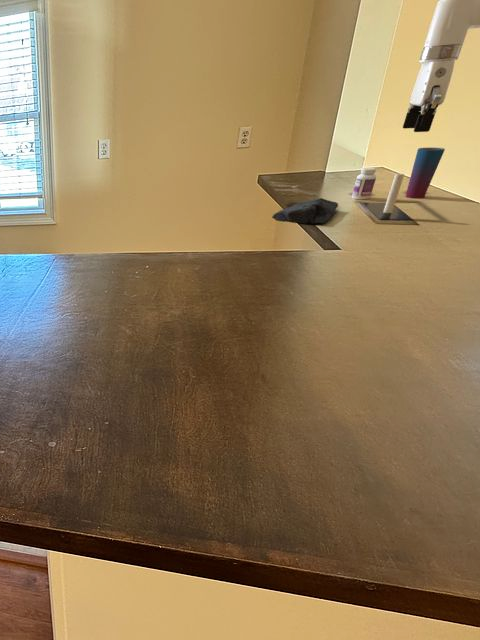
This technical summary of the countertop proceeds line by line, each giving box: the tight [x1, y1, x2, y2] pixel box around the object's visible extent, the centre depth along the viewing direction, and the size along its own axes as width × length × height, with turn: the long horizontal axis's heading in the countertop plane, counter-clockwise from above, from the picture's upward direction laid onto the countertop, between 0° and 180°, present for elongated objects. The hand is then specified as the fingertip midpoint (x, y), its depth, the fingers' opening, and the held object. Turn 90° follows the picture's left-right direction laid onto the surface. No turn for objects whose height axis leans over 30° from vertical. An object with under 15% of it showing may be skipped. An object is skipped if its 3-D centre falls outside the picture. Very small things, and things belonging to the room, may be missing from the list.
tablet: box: [357, 201, 420, 226], centre depth 145 cm, size 16×24×1 cm, turn 158°
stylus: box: [382, 173, 405, 218], centre depth 136 cm, size 2×2×12 cm
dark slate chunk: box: [271, 197, 339, 225], centre depth 149 cm, size 15×22×5 cm
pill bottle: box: [351, 167, 377, 200], centre depth 163 cm, size 5×5×10 cm
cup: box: [405, 146, 445, 199], centre depth 158 cm, size 7×7×15 cm
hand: (415, 129), depth 128 cm, fingers open, 9 cm apart
